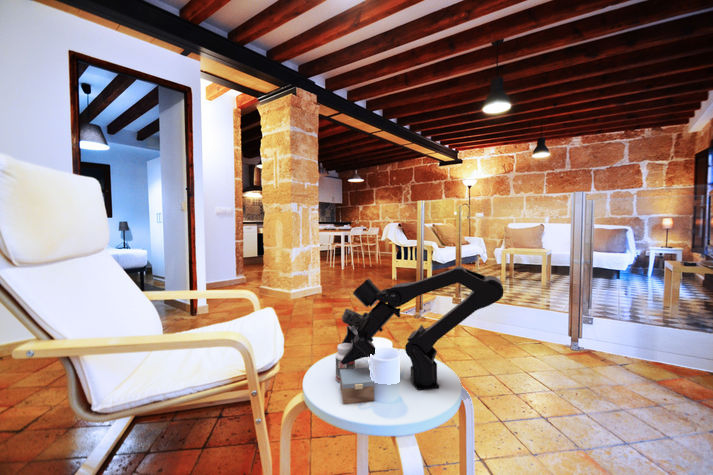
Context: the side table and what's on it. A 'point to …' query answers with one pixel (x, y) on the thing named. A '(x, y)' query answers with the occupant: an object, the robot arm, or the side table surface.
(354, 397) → the walnut box
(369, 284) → the robot arm
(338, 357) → the pill bottle
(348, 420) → the side table surface
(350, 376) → the box lid
